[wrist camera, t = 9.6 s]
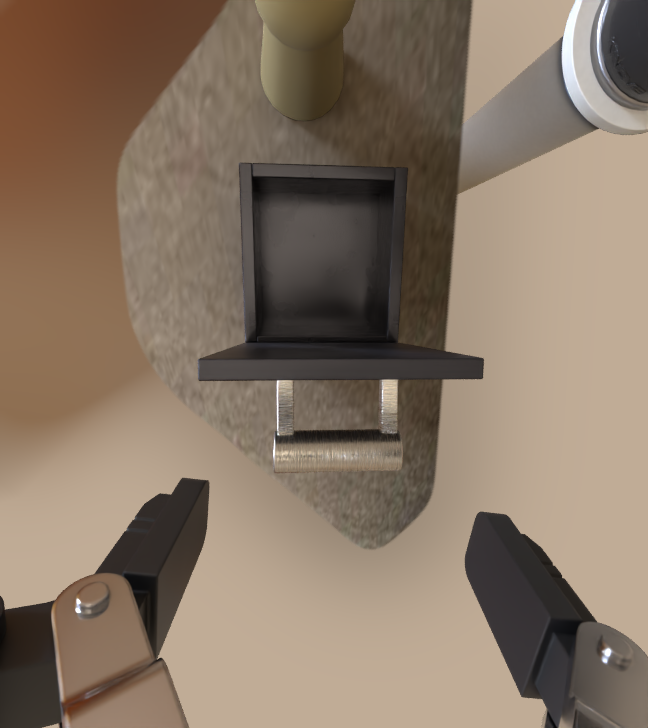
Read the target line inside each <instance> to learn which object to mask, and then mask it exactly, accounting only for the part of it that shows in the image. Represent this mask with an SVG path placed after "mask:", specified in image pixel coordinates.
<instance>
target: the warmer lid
mask: <svg viewBox="0 0 648 728" xmlns="http://www.w3.org/2000/svg"><path fill="white" fill-rule="evenodd" d="M483 366H484V359H483V358H479V357H473V356H468V355H462V354H457V353H451V352H446V351H441V350H436V349H430V348H425V347H419V346H414V345H408V344H403V343H243V344H240V345H237V346H234V347H232V348H229V349H226V350H223V351H220V352H217V353H215V354H212V355H209V356H206V357H203V358H200V359H198V379H199V381H252V380H277V431H275V433H274V441H273V467H274V472H275V473H300V472H346V471H392V470H400V469H401V466H402V462H403V444H402V439H401V435H400V433H399V431H398V430H397V409H398V380H413V379H482V378H483ZM294 380H379V427H378V429H365V430H297V431H294Z"/></svg>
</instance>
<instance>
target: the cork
mask: <svg viewBox="0 0 648 728" xmlns="http://www.w3.org/2000/svg"><path fill="white" fill-rule="evenodd" d="M255 2H256V6H257V9H258V13H259V14H260V16H261V18H262V19H263V21H264V29H263V42H262V54H261V81H262V85H263V88H264V92H265V94H266V96H267V97H268V99H269V101H270V102H271V104H272V105H273V106H274V107H275V108H276V109H277V110H278V111H279V112H280V113H282V114H283V115H284V116H287V117H289V118H292V119H294V120H302V121H309V120H313V119H316V118H319V117H321V116H323V115H324V114H325V113H327V112H328V111H329V110H331V109H332V107H333V106H334V104H335V103H336V101H337V100H338V99H339V96H340V93H341V90H342V87H343V79H344V56H343V28H344V27H345V25H346V24H347V22H348V21H349V19H350V16H351V13H352V10H353V7H354V4H355V0H255Z"/></svg>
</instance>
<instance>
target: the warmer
mask: <svg viewBox="0 0 648 728" xmlns="http://www.w3.org/2000/svg"><path fill="white" fill-rule="evenodd" d="M407 174H408V168H401V167H396V168H394V167H365V166H332V165H299V164H266V163H239V177H240V205H241V234H242V262H243V290H244V318H245V343H398V331H399V313H400V296H401V279H402V261H403V244H404V226H405V209H406V191H407Z"/></svg>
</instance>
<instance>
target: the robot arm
mask: <svg viewBox="0 0 648 728" xmlns="http://www.w3.org/2000/svg"><path fill="white" fill-rule="evenodd" d="M590 56H591V62H592V67H593V71H594V74H595V76H596V79H597V81H598V83H599V85H600V86H601V88H602V89H603V91H604V92H605V93H606V94H607V95H608V96H609V97H610V98H611V99H612V100H613V101H615V102H616V103H617V104H619V105H621V106H623V107H626V108H628V109H632V110H638V111H647V110H648V0H601V2H600V4H599V7H598V9H597V12H596V14H595V17H594V21H593V25H592V30H591V37H590ZM208 501H209V481H208V480H198V479H190V478H182V479H181V480H180V482H179V483H178V485H177V487H176V488H175V490H174V491H173V493H172V494H171V495H168V494H158V495H157V496H155V497H154V498H152V499H151V500H149V501H148V502H147V503H145V504H144V505H143V507H142V508H141V509H140V511H139V512H138V514H137V515H136V516H135V519H134V520H133V521H132V522H131V524H130V525H129V526H128V528H127V530H126V531H125V532H124V533H123V535H122V536H121V538H120V539H119V540H118V542H117V543H116V544H115V546H114V547H113V549H112V550H111V551H110V553H109V554H108V556H107V557H106V558H105V560H104V561H103V563H102V564H101V566H100V567H99V568H98V570H97V571H96V573H95V574H93V575H90V576H87V577H84V578H82V579H80V580H78V581H76V582H74V583H73V584H71V585H70V586H68V587H67V588H66V589H65V590H63V592H61V594H60V595H59V596H58V597H57V599H56V600H55V601H51V602H47V603H42V604H36V605H30V606H24V607H19V608H12V609H6V610H5V607H4V601H3V599H2V597H1V596H0V728H42V727H46V726H50V725H54V724H57V723H59V728H189V726H188V723H187V720H186V717H185V715H184V712H183V709H182V706H181V704H180V701H179V698H178V695H177V692H176V690H175V687H174V684H173V681H172V678H171V675H170V673H169V670H168V667H167V665H166V663H165V661H164V660H163V659H162V658H159V659H158V660H157V658H158V655H159V653H160V650H161V648H162V646H163V643H164V641H165V638H166V636H167V633H168V631H169V628H170V626H171V623H172V621H173V619H174V616H175V614H176V611H177V608H178V606H179V603H180V601H181V599H182V596H183V594H184V591H185V589H186V587H187V584H188V582H189V579H190V577H191V574H192V572H193V570H194V567H195V565H196V562H197V560H198V557H199V555H200V552H201V550H202V547H203V544H204V540H205V535H206V530H207V517H208ZM465 569H466V574H467V577H468V580H469V582H470V584H471V586H472V589H473V591H474V593H475V595H476V597H477V600H478V602H479V604H480V606H481V608H482V611H483V613H484V615H485V617H486V619H487V622H488V624H489V626H490V628H491V630H492V633H493V635H494V637H495V639H496V641H497V644H498V646H499V648H500V650H501V652H502V654H503V657H504V659H505V661H506V664H507V666H508V668H509V670H510V672H511V674H512V677H513V679H514V681H515V683H516V685H517V688H518V690H519V692H520V694H521V697H525V698H537V699H543V701H544V704H545V706H546V708H547V709H546V711H545V714H544V717H543V720H542V725H541V728H648V657H647V655H646V654H645V652H643V650H642V649H641V648H640V647H639V646H638V645H637V644H635V643H634V642H633V641H632V640H631V639H629V638H628V637H627V636H625V635H624V634H622V633H621V632H619V631H617V630H616V629H614V628H611V627H610V626H607V625H604V624H602V623H598V622H597V621H596V620H595V618H594V617H593V616H592V614H591V613H590V612H589V611H588V609H587V608H586V607H585V605H584V604H583V602H582V601H581V600H580V599H579V597H578V596H577V594H576V593H575V592H574V591H573V589H572V588H571V587H570V585H569V584H568V583H567V581H566V580H565V579H564V578H562V575H561V573H560V572H559V571H558V569H557V568H556V567H555V566H553V563H552V562H551V560H550V559H549V557H548V556H547V555H546V553H545V552H544V551H543V549H542V548H541V547H540V546H538V545H537V544H536V543H535V542H534V541H532V540H531V539H530V538H529V537H528V536H526V535H525V534H521V533H520V532H519V530H518V529H517V528H516V526H515V525H514V524H513V522H512V521H511V519H510V518H509V517H508V516H507V515H504V514H497V513H487V512H479V513H478V514H477V516H476V518H475V522H474V525H473V529H472V533H471V536H470V540H469V543H468V547H467V551H466V555H465Z"/></svg>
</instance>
